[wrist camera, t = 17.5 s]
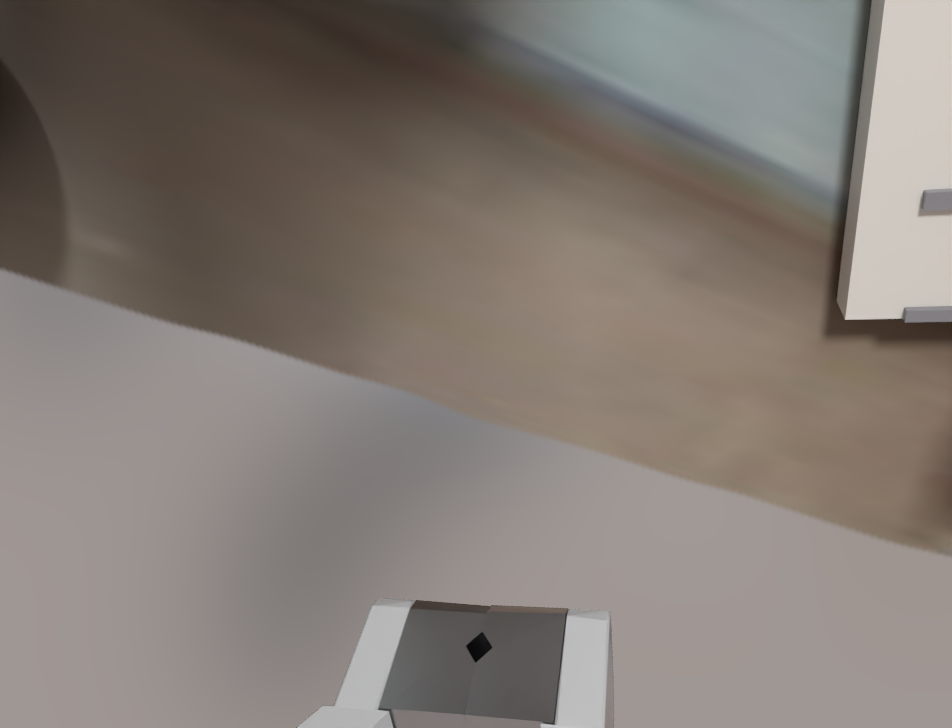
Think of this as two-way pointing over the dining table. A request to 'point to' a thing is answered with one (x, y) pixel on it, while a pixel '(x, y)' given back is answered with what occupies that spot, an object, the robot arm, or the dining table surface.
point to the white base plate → (902, 169)
